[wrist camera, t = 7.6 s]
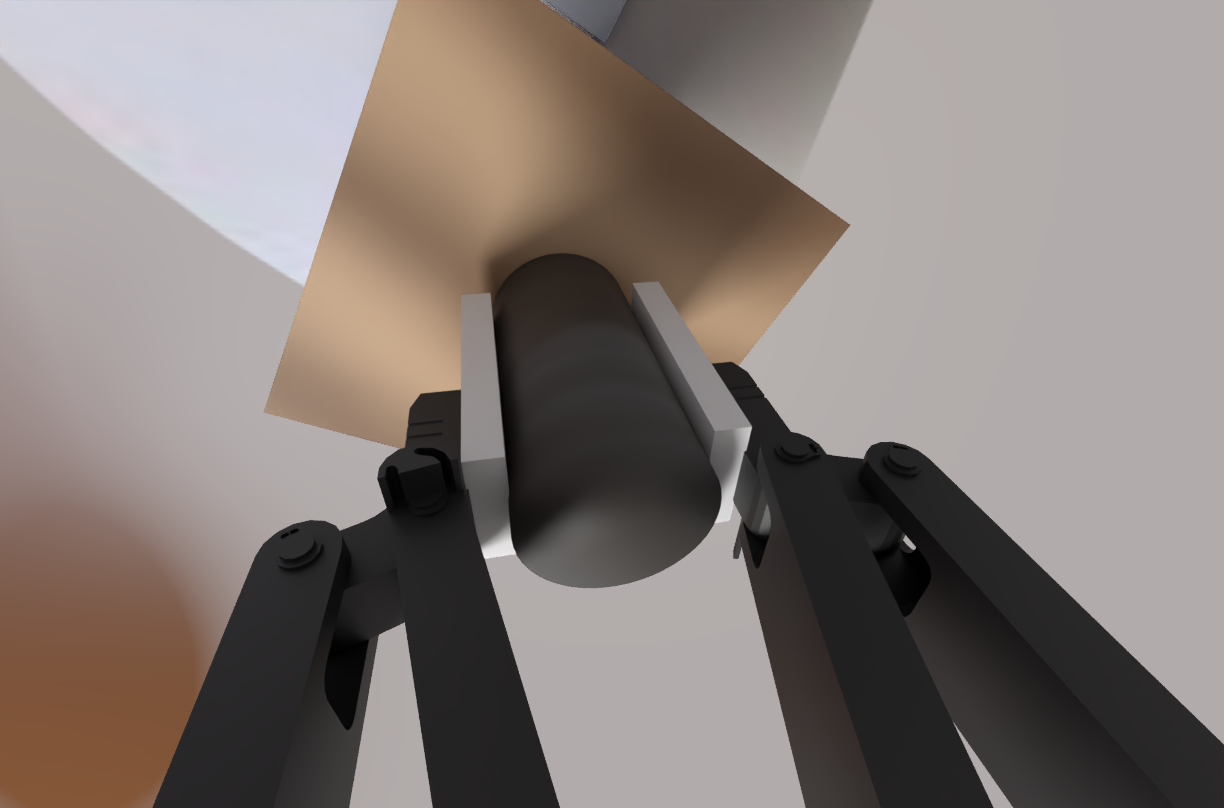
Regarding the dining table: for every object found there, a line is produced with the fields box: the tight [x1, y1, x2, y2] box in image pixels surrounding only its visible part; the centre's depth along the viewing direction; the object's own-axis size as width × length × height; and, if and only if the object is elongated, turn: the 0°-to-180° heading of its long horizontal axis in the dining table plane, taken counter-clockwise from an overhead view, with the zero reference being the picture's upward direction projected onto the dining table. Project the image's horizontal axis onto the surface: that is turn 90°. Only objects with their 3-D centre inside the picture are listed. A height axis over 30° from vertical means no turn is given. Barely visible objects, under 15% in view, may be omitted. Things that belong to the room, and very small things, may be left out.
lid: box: [264, 0, 850, 588], centre depth 14 cm, size 13×13×9 cm
